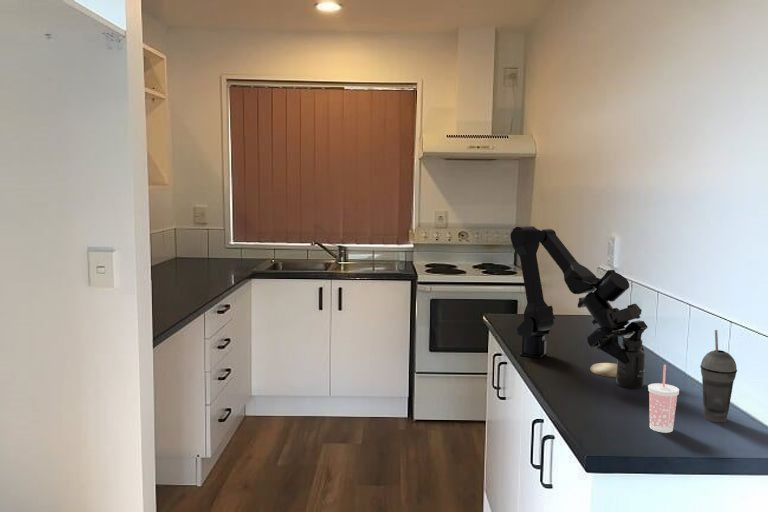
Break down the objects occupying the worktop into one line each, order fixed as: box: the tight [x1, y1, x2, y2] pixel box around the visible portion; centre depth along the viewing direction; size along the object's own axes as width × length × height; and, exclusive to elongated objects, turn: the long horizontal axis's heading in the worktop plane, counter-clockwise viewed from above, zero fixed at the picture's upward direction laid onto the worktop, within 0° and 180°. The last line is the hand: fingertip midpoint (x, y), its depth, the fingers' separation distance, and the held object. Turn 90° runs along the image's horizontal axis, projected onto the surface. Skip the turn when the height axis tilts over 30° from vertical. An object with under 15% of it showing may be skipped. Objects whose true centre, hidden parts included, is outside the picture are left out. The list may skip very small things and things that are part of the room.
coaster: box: [589, 362, 617, 379], centre depth 176 cm, size 12×12×1 cm
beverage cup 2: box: [699, 329, 738, 423], centre depth 140 cm, size 7×7×20 cm
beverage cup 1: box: [647, 364, 680, 434], centre depth 135 cm, size 6×6×14 cm
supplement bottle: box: [615, 337, 647, 389], centre depth 164 cm, size 7×7×12 cm
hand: (635, 361), depth 163 cm, fingers open, 7 cm apart
